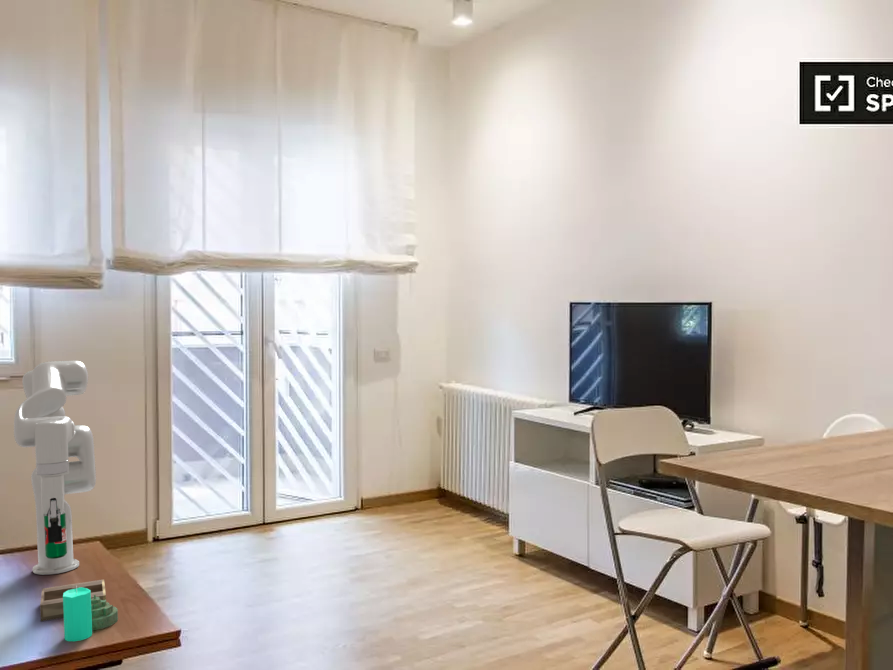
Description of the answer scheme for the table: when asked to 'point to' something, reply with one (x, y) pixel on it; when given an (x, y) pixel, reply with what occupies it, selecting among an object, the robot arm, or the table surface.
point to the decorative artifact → (102, 613)
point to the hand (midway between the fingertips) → (55, 538)
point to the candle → (77, 614)
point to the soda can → (56, 548)
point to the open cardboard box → (54, 598)
